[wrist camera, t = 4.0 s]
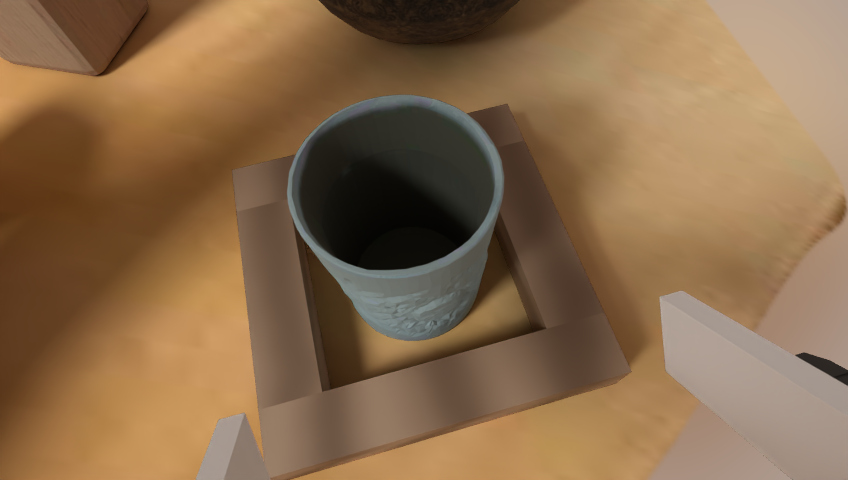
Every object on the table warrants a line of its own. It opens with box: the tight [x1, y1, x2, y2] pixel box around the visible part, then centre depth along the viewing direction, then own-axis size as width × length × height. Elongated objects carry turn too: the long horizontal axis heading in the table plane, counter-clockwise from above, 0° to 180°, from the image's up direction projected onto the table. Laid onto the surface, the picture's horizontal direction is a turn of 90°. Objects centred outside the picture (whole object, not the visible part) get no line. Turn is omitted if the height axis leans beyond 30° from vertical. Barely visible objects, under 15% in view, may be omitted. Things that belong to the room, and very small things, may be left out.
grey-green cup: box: [287, 95, 504, 341], centre depth 28 cm, size 10×10×12 cm
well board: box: [232, 104, 632, 480], centre depth 32 cm, size 20×20×3 cm
